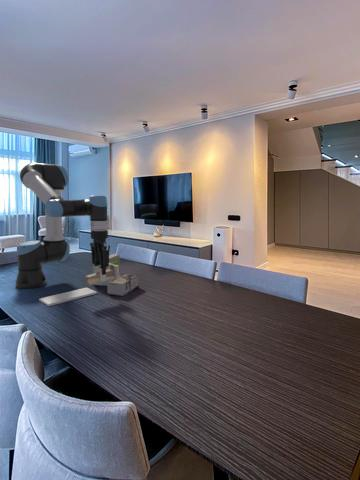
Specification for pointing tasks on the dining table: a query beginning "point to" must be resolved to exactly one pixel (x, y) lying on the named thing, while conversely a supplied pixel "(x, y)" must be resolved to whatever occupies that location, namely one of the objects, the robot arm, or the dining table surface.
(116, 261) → the tea box
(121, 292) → the coffee box
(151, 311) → the dining table surface
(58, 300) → the cutting board
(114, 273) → the scraper
